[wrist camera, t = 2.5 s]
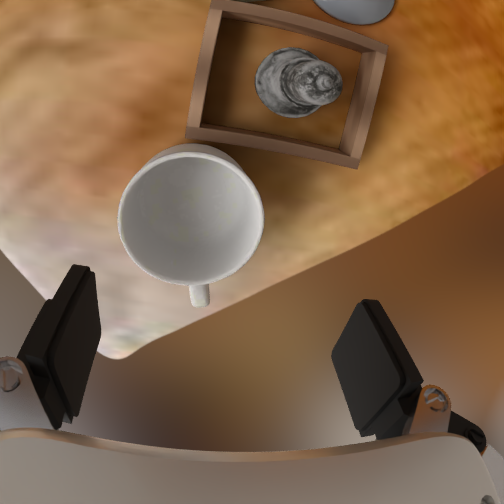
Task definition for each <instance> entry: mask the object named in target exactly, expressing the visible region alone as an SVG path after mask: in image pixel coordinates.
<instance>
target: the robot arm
mask: <svg viewBox="0 0 504 504" xmlns="http://www.w3.org/2000/svg"><path fill="white" fill-rule="evenodd" d="M100 338H101V324H100V317H99V309H98V300H97V291H96V280H95V273H94V272H92V271H90V268H89V267H88V266H82V265H75V264H74V265H72V266H71V268H70V270H69V271H68V273H67V275H66V276H65V278H64V280H63V282H62V283H61V285H60V287H59V288H58V290H57V292H56V294H55V295H54V297H53V299H48V300H47V301H46V302H45V304H44V305H43V307H42V309H41V311H40V312H39V314H38V316H37V318H36V320H35V322H34V324H33V326H32V327H31V329H30V331H29V334H28V335H27V337H26V339H25V341H24V343H23V345H22V347H21V349H20V351H19V354H18V356H17V358H15V357H11V356H5V357H0V504H504V458H503V457H502V456H501V455H500V454H499V453H498V452H497V451H495V449H493V447H492V446H490V445H489V444H488V445H487V446H486V437H485V435H484V433H483V431H482V430H481V429H480V428H479V427H478V426H476V425H475V424H473V423H472V422H470V421H468V420H467V419H465V418H463V417H461V416H460V415H458V414H456V413H454V412H453V411H451V401H450V398H449V396H448V395H447V394H446V392H445V391H444V390H443V389H441V388H440V387H438V386H435V385H426V386H425V387H423V388H422V387H421V384H422V382H423V381H424V380H423V379H422V376H421V375H420V373H419V371H418V369H417V367H416V365H415V363H414V362H413V360H412V358H411V356H410V354H409V352H408V351H407V349H406V347H405V345H404V344H403V342H402V340H401V338H400V336H399V335H398V333H397V331H396V329H395V328H394V326H393V324H392V323H391V321H390V319H389V317H388V316H387V314H386V312H385V311H384V309H383V307H382V306H381V304H380V302H379V301H378V300H369V299H363V300H362V301H361V302H360V303H358V304H357V305H356V307H355V309H354V311H353V313H352V315H351V317H350V319H349V321H348V323H347V325H346V327H345V328H344V330H343V332H342V334H341V336H340V338H339V339H338V341H337V343H336V345H335V347H334V349H333V351H332V355H331V357H332V361H333V364H334V367H335V370H336V373H337V375H338V379H339V381H340V384H341V387H342V390H343V393H344V396H345V399H346V402H347V405H348V408H349V411H350V414H351V417H352V420H353V422H354V426H355V428H356V429H357V430H359V432H360V435H361V437H365V436H371V435H374V434H375V435H376V440H375V441H371V442H365V443H358V444H352V445H345V446H338V447H329V448H319V449H308V450H296V451H277V452H212V451H194V450H181V449H170V448H161V447H152V446H145V445H138V444H130V443H124V442H118V441H112V440H107V439H101V438H96V437H91V436H86V435H81V434H75V433H70V432H65V431H59V428H60V427H61V425H62V422H66V423H70V424H71V423H72V419H73V416H75V417H77V416H78V415H79V411H80V407H81V403H82V400H83V396H84V392H85V388H86V384H87V381H88V377H89V374H90V370H91V367H92V364H93V360H94V357H95V354H96V351H97V347H98V344H99V341H100Z"/></svg>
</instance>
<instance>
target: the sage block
mask: <svg viewBox="0 0 504 504" xmlns="http://www.w3.org/2000/svg"><path fill="white" fill-rule="evenodd" d="M231 1H238V2H244V3H245V2H254V1H264V0H231Z"/></svg>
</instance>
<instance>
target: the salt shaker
mask: <svg viewBox="0 0 504 504" xmlns="http://www.w3.org/2000/svg"><path fill="white" fill-rule="evenodd" d="M342 85H343V82H342V78H341V75H340V73H339V72H338V70H337V69H336V68H335V67H334V66H332V65H331V64H329V63H327V62H325V61H321V60H319V59H318V58H317V57H316V56H315V55H313V54H312V53H310V52H309V51H306V50H303V49H300V48H292V47H289V48H283V49H279V50H277V51H275V52H272V53H271V54H269V55H268V56H267V57H266V58H265V59H264V60H263V61H262V63H261V64H260V66H259V68H258V70H257V72H256V76H255V88H256V92H257V94H258V96H259V97H260V99H261V100H262V102H263V103H264V104H265V105H266V106H267V107H268V108H269V109H270V110H271V111H273V112H275V113H276V114H278V115H281V116H284V117H288V118H299V117H304V116H307V115H309V114H311V113H313V112H315V111H316V110H317V109H318V108H320V107H321V106H322V105H326V104H329V103H331V102H333V101H334V100H336V99H337V98H338V97H339V95H340V94H341V91H342Z"/></svg>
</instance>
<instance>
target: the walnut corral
mask: <svg viewBox="0 0 504 504" xmlns="http://www.w3.org/2000/svg"><path fill="white" fill-rule="evenodd" d="M222 18H227V19H233V20H240V21H245V22H251V23H256V24H261V25H266V26H271V27H276V28H280V29H284V30H288V31H292V32H296V33H300V34H304V35H308V36H311V37H315V38H318V39H321V40H325V41H328V42H331V43H334V44H337V45H340V46H343V47H346V48H349V49H352V50H355V51H358V52H360V53H362V56H361V60H360V65H359V69H358V74H357V78H356V82H355V87H354V91H353V95H352V99H351V103H350V107H349V111H348V115H347V119H346V123H345V127H344V131H343V135H342V139H341V143H340V146H339V149H336V148H331V147H327V146H323V145H319V144H315V143H310V142H306V141H301V140H297V139H292V138H287V137H282V136H277V135H272V134H267V133H261V132H256V131H250V130H244V129H238V128H231V127H225V126H218V125H211V124H203V123H201V121H202V115H203V109H204V104H205V98H206V93H207V87H208V82H209V77H210V72H211V66H212V61H213V57H214V52H215V47H216V42H217V38H218V33H219V29H220V24H221V20H222ZM387 50H388V45H386V44H383V43H381V42H379V41H376V40H374V39H371V38H369V37H366V36H364V35H361V34H358V33H356V32H353V31H350V30H348V29H345V28H342V27H339V26H336V25H333V24H330V23H327V22H323V21H320V20H317V19H313V18H310V17H306V16H303V15H299V14H295V13H291V12H287V11H283V10H279V9H275V8H270V7H265V6H260V5H255V4H250V3H244V2H238V1H231V0H212V1H211V5H210V9H209V13H208V17H207V22H206V26H205V30H204V35H203V40H202V44H201V49H200V54H199V59H198V64H197V69H196V74H195V80H194V85H193V91H192V97H191V102H190V108H189V115H188V121H187V127H186V134H185V138H188V139H196V140H204V141H212V142H219V143H226V144H232V145H239V146H245V147H251V148H257V149H263V150H268V151H274V152H279V153H284V154H290V155H295V156H300V157H304V158H309V159H314V160H318V161H323V162H327V163H332V164H336V165H340V166H344V167H348V168H353V169H358V166H359V162H360V159H361V155H362V152H363V148H364V145H365V141H366V137H367V134H368V130H369V126H370V122H371V119H372V115H373V111H374V107H375V103H376V99H377V95H378V90H379V86H380V82H381V78H382V73H383V69H384V64H385V59H386V55H387Z"/></svg>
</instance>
